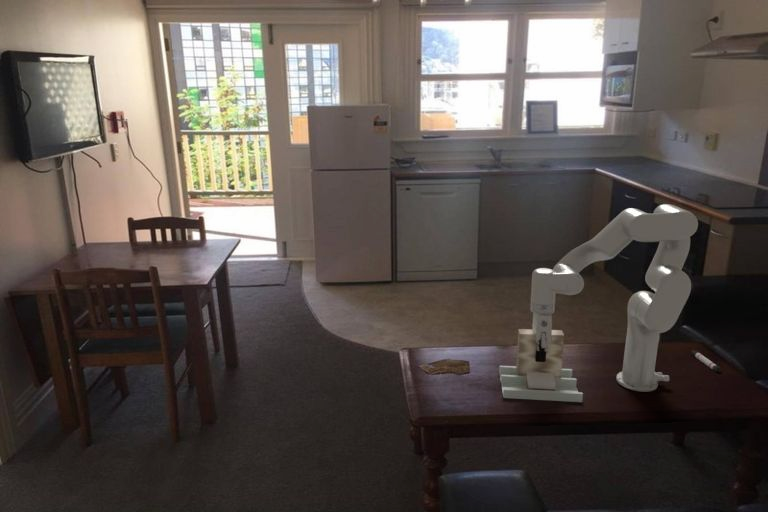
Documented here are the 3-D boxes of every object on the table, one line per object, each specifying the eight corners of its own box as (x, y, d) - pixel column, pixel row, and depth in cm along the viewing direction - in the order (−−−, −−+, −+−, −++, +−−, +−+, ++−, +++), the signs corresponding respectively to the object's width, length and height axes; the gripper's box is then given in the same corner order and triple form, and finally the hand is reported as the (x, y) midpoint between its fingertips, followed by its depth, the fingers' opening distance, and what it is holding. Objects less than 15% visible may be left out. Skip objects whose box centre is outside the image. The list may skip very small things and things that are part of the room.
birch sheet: (558, 374, 185) (561, 330, 181) (560, 380, 182) (564, 335, 177) (516, 372, 187) (518, 329, 183) (517, 378, 183) (519, 334, 179)
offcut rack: (570, 377, 188) (571, 368, 187) (582, 404, 171) (583, 394, 170) (498, 374, 190) (499, 364, 189) (503, 400, 174) (503, 390, 173)
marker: (720, 372, 191) (721, 367, 191) (714, 372, 191) (715, 367, 191) (693, 352, 206) (694, 347, 205) (688, 353, 206) (689, 348, 205)
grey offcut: (551, 380, 179) (552, 373, 178) (555, 389, 173) (555, 382, 173) (526, 378, 180) (527, 371, 179) (529, 388, 174) (529, 380, 174)
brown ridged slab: (419, 375, 190) (419, 373, 190) (417, 361, 201) (417, 358, 201) (494, 374, 191) (494, 372, 190) (487, 360, 201) (488, 357, 201)
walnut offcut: (551, 387, 180) (551, 380, 179) (554, 396, 174) (555, 389, 173) (526, 385, 181) (526, 378, 180) (528, 395, 175) (529, 388, 174)
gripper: (559, 316, 169) (555, 370, 174) (550, 297, 185) (546, 347, 190) (534, 316, 170) (531, 369, 175) (527, 297, 186) (524, 347, 191)
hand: (539, 357), depth 183 cm, fingers closed on birch sheet, 4 cm apart
